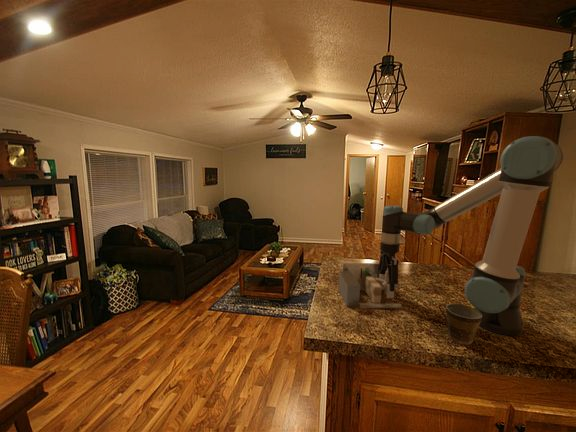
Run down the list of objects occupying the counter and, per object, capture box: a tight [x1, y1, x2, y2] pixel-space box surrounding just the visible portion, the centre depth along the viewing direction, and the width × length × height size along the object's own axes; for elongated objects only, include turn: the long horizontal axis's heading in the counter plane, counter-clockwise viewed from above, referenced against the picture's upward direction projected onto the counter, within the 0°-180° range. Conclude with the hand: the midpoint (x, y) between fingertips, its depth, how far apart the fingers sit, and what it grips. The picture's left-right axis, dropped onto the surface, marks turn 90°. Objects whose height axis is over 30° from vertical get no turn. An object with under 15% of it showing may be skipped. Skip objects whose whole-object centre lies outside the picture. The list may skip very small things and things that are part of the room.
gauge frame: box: [338, 262, 402, 309], centre depth 119 cm, size 20×22×12 cm
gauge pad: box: [364, 274, 383, 303], centre depth 120 cm, size 15×3×7 cm, turn 1°
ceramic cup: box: [438, 303, 482, 346], centre depth 91 cm, size 13×10×10 cm
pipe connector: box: [375, 270, 401, 296], centre depth 118 cm, size 10×10×10 cm
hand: (386, 292), depth 119 cm, fingers closed on pipe connector, 9 cm apart
